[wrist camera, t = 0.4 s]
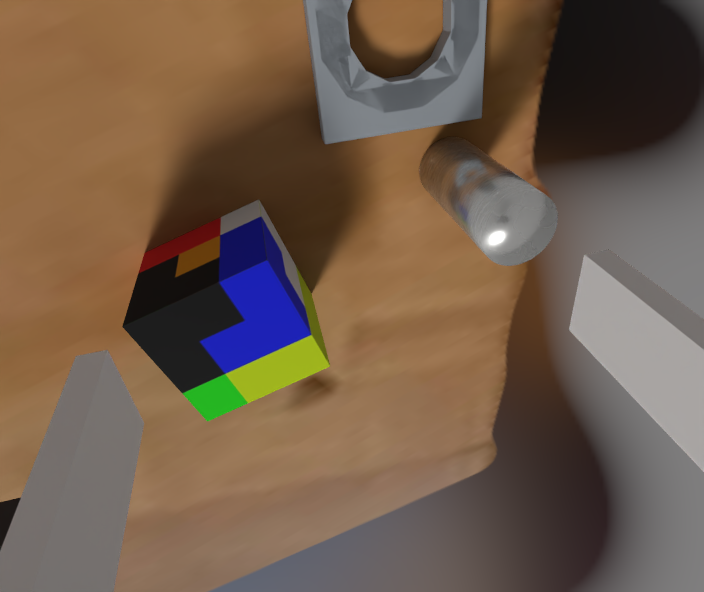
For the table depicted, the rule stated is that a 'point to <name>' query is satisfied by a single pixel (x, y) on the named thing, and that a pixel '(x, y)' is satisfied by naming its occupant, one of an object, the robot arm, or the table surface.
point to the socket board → (396, 92)
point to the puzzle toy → (226, 313)
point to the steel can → (488, 201)
